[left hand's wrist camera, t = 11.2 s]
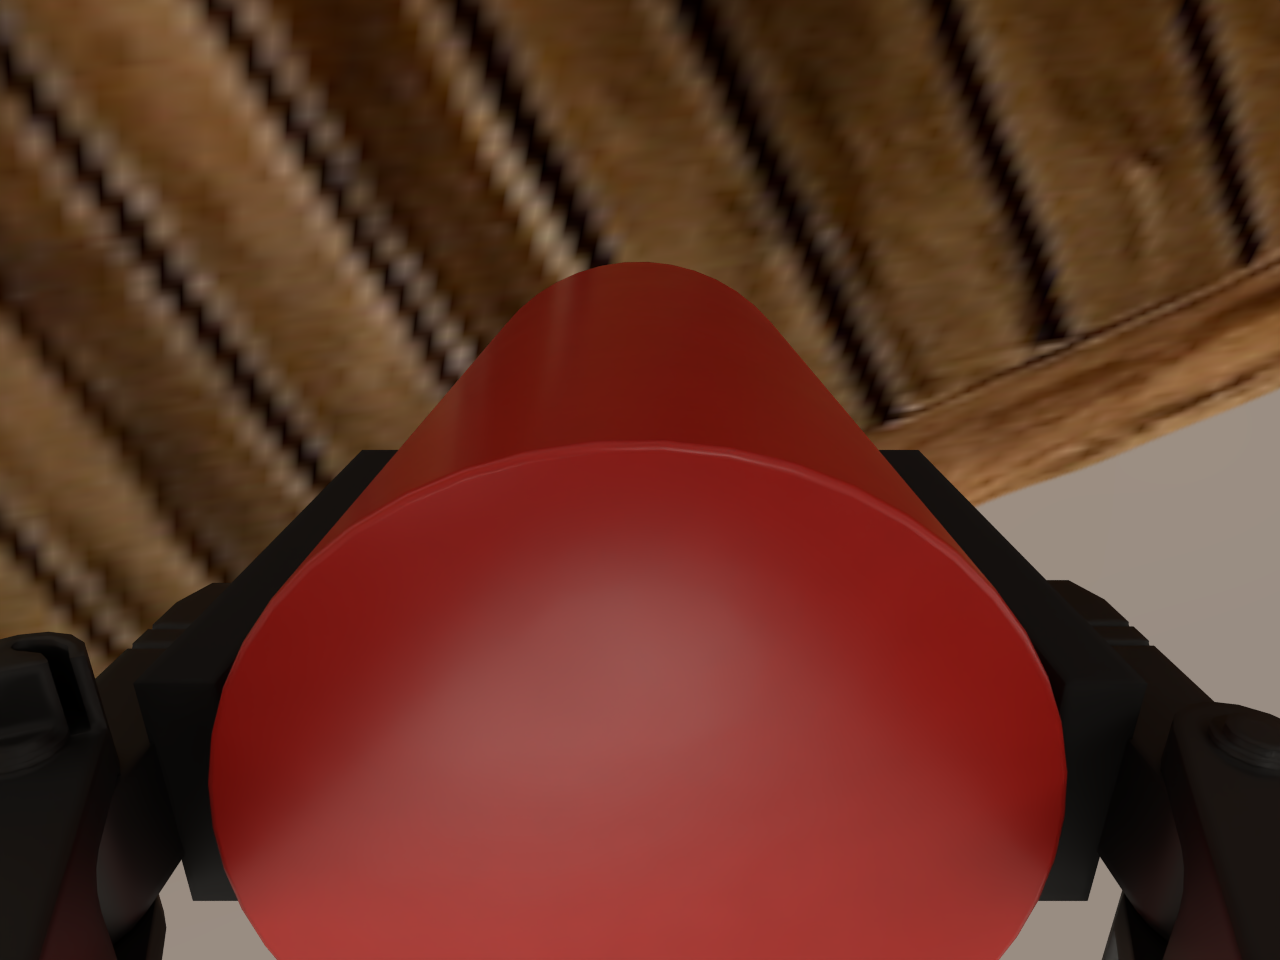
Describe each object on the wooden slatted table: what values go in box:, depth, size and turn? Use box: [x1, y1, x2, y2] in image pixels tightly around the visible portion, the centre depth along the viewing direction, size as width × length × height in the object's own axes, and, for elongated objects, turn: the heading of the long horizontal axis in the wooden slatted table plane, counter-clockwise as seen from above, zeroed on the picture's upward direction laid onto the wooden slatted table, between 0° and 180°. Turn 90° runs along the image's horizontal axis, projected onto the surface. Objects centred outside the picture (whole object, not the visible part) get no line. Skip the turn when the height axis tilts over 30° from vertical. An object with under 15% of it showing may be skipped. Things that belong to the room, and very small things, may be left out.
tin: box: [208, 262, 1067, 960], centre depth 13 cm, size 8×8×12 cm
